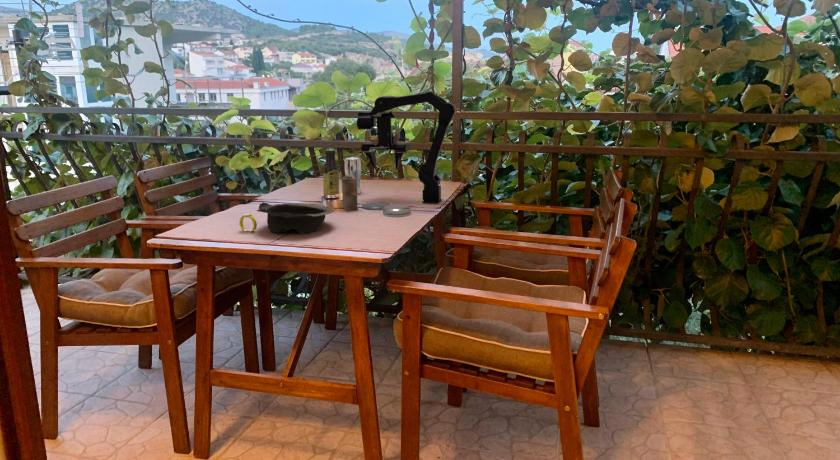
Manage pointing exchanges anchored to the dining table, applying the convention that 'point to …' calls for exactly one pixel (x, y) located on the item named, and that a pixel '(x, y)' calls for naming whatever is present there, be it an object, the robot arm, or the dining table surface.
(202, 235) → the dining table surface
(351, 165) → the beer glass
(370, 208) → the coaster
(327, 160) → the sauce bottle
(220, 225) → the dining table surface
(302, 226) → the stone bowl
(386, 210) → the round metal lid
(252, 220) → the watch
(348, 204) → the pepper mill
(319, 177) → the dining table surface
